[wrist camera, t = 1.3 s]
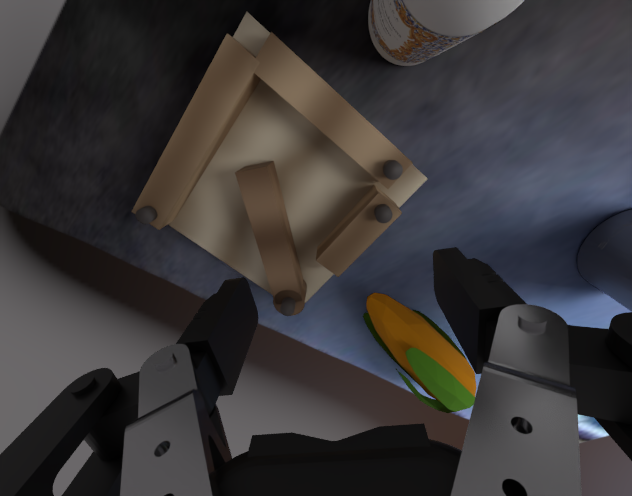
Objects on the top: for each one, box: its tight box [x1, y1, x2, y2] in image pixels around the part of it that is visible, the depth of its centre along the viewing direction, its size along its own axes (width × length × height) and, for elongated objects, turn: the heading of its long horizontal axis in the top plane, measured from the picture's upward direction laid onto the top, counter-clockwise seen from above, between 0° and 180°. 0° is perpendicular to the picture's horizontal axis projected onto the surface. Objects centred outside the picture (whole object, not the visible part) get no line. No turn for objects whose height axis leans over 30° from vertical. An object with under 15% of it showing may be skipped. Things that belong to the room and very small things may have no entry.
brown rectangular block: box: [235, 161, 307, 316], centre depth 28 cm, size 15×3×4 cm, turn 11°
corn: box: [363, 293, 476, 413], centre depth 34 cm, size 7×8×20 cm
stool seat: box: [132, 12, 427, 303], centre depth 27 cm, size 20×20×6 cm
